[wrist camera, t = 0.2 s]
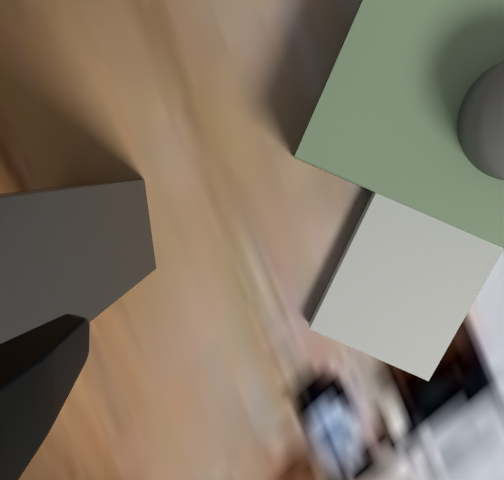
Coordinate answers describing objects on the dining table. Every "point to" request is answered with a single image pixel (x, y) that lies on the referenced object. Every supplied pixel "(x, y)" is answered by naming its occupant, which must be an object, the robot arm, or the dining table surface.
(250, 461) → the dining table surface
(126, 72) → the dining table surface
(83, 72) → the dining table surface
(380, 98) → the green plate with knob
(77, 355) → the robot arm
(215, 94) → the dining table surface
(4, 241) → the chute block
